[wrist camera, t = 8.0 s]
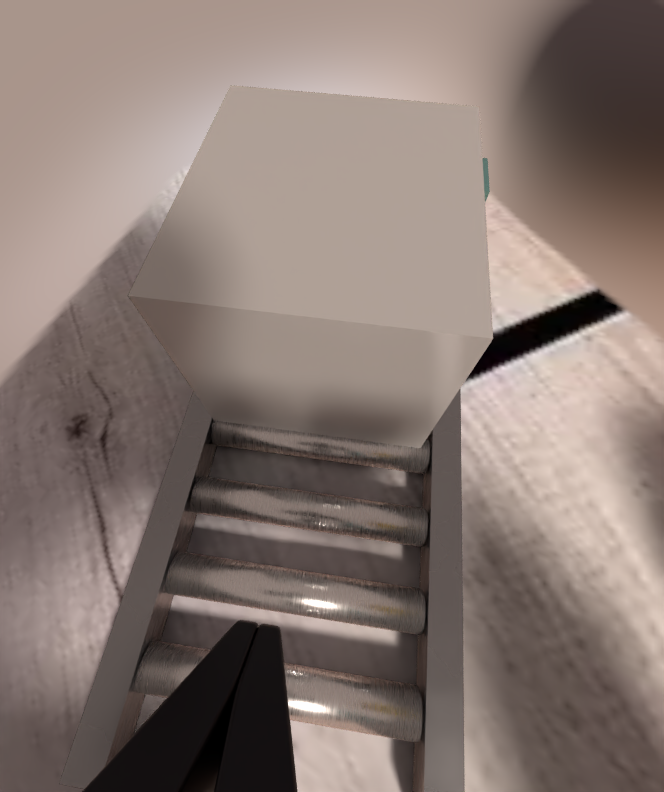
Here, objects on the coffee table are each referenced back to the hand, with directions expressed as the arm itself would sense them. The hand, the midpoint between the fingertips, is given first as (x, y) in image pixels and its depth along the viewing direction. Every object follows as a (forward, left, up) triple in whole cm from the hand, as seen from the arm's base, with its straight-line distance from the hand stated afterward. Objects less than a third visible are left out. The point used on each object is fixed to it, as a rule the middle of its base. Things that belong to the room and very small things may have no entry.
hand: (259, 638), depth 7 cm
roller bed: (+6, +3, -8) cm, 11 cm away
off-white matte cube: (+10, +6, -7) cm, 14 cm away
